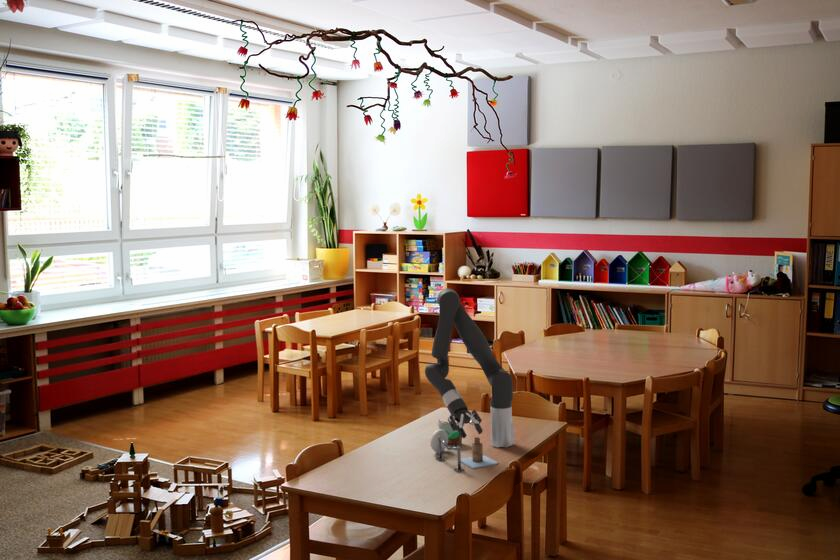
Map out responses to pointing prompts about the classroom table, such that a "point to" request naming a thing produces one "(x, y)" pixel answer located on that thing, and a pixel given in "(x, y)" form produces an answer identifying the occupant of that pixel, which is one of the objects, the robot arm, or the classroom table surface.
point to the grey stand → (449, 449)
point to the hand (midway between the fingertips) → (473, 435)
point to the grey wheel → (434, 440)
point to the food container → (450, 433)
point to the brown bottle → (477, 450)
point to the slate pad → (474, 465)
